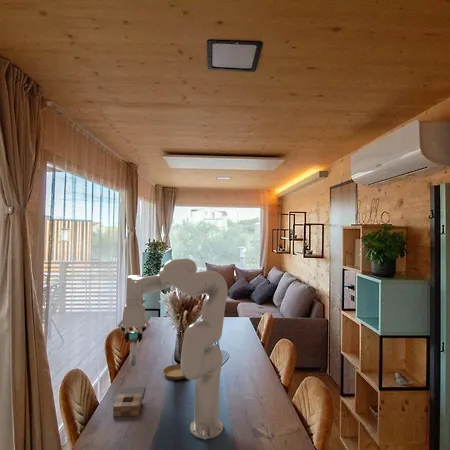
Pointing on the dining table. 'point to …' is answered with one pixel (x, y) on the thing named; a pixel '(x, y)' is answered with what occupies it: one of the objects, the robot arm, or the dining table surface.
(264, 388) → the dining table surface
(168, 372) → the plant saucer
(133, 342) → the teal capped rod
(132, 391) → the rubber pad
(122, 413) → the eye block
